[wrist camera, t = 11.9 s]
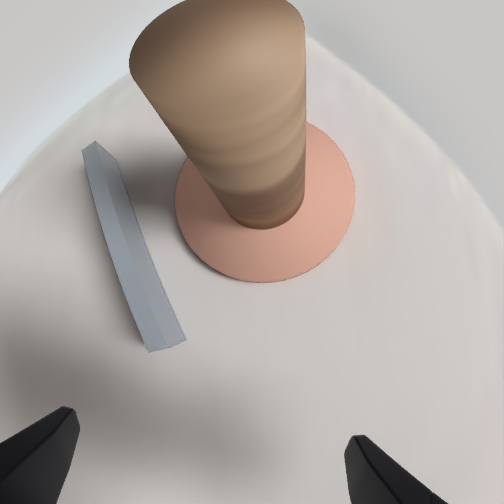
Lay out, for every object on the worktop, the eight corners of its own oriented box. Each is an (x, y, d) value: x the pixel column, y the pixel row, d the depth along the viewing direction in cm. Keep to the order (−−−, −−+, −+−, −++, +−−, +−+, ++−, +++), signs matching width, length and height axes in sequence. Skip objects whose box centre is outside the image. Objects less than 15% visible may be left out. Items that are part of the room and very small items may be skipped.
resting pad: (375, 258, 18) (377, 256, 17) (192, 299, 19) (189, 299, 18) (323, 104, 20) (324, 99, 19) (170, 142, 21) (167, 138, 21)
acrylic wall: (186, 340, 18) (167, 343, 15) (170, 347, 18) (148, 352, 16) (116, 159, 22) (95, 140, 19) (103, 167, 22) (81, 150, 19)
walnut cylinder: (320, 205, 18) (342, 51, 6) (242, 244, 18) (153, 133, 7) (280, 140, 19) (254, -25, 8) (208, 175, 20) (117, 34, 8)
